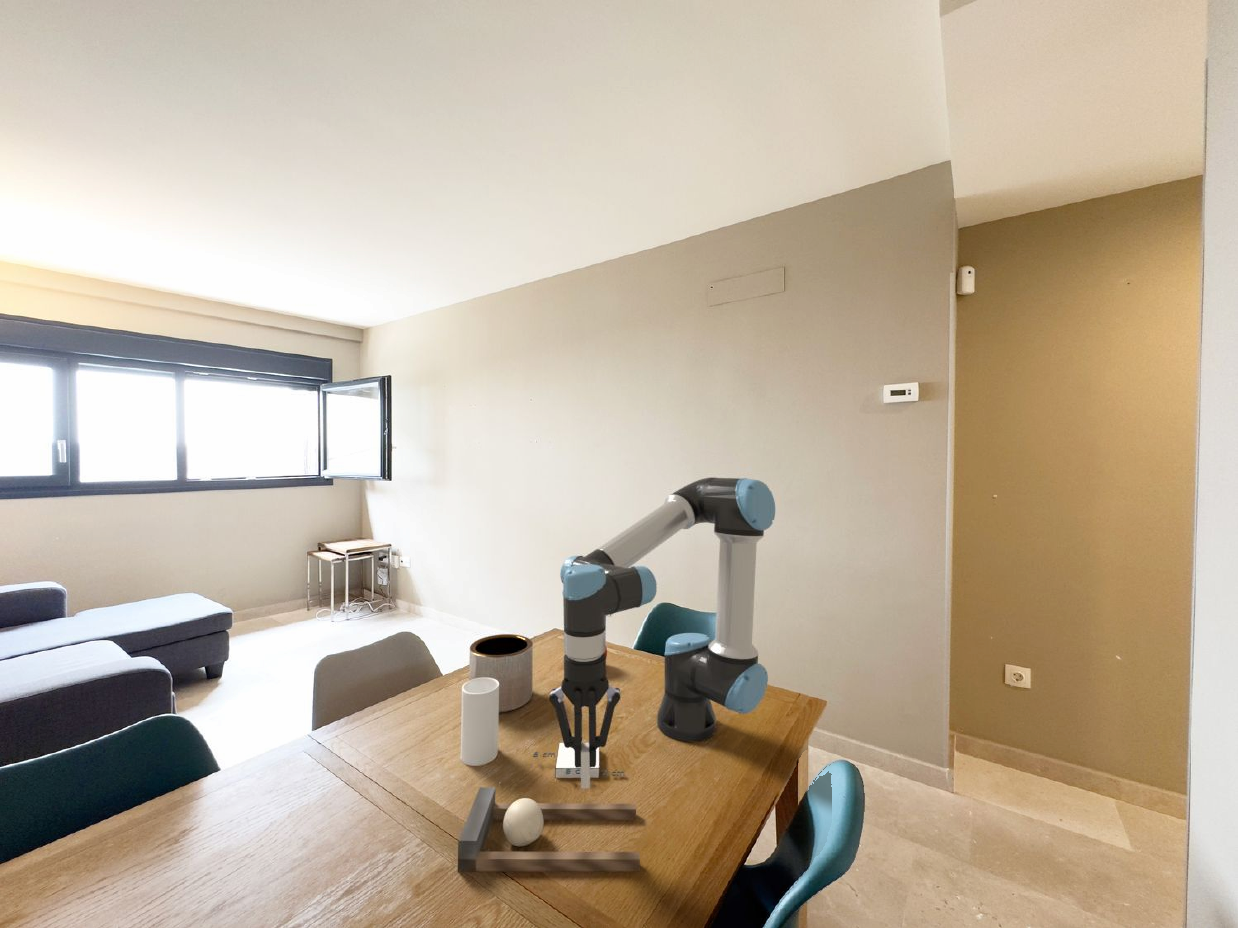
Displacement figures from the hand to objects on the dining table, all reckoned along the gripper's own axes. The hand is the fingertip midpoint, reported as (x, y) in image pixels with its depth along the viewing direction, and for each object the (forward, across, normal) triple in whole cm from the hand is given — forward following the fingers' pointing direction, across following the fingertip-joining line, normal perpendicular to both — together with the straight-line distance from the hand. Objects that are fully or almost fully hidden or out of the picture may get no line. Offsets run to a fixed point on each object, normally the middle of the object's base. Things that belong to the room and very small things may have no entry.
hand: (585, 782), depth 86 cm
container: (+11, +3, -20) cm, 23 cm away
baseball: (+10, +11, +1) cm, 15 cm away
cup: (+10, +26, -24) cm, 37 cm away
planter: (+11, +27, -50) cm, 58 cm away
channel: (+10, +6, +1) cm, 11 cm away
